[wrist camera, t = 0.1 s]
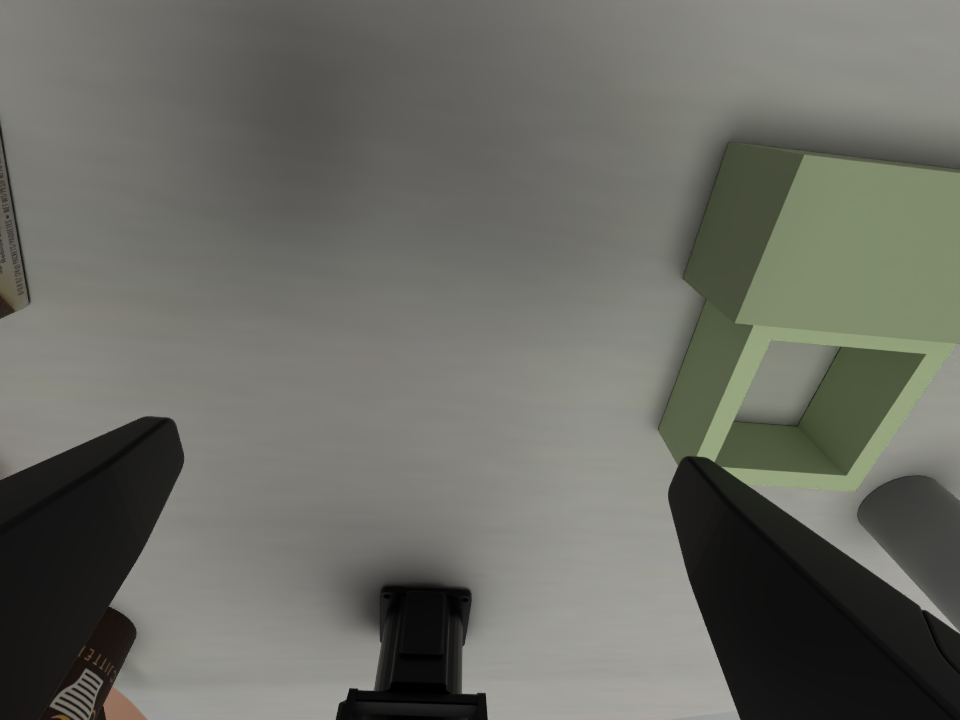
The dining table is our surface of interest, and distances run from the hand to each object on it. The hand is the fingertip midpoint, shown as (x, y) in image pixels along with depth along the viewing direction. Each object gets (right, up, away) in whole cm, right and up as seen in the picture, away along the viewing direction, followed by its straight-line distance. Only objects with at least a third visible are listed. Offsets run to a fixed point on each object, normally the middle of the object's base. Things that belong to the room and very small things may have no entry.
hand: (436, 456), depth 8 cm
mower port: (+16, +4, +15) cm, 22 cm away
